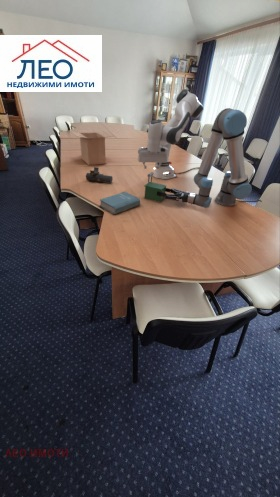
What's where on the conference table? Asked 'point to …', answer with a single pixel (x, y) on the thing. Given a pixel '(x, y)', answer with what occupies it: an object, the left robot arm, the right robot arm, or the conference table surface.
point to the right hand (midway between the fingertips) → (159, 190)
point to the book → (119, 202)
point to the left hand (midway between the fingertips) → (151, 168)
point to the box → (92, 146)
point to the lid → (154, 185)
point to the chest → (154, 194)
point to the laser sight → (98, 176)
